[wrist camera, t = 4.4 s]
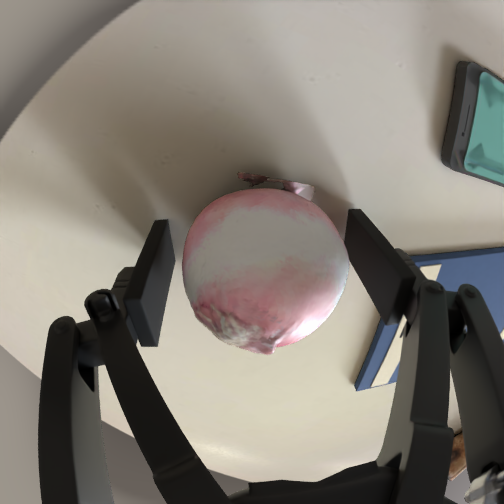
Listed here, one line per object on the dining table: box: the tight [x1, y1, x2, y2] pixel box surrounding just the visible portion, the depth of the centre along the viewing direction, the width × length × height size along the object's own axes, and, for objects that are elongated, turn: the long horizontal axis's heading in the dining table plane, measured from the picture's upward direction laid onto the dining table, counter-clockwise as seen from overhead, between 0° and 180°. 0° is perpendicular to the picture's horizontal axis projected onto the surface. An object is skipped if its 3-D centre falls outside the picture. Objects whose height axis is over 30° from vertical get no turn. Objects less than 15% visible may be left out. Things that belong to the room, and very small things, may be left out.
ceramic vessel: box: [448, 432, 467, 481], centre depth 56 cm, size 13×31×25 cm
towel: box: [354, 247, 504, 391], centre depth 23 cm, size 24×16×1 cm, turn 92°
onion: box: [182, 172, 349, 355], centre depth 14 cm, size 8×8×7 cm
